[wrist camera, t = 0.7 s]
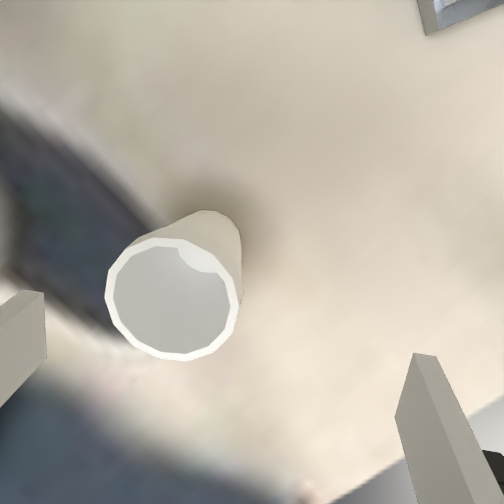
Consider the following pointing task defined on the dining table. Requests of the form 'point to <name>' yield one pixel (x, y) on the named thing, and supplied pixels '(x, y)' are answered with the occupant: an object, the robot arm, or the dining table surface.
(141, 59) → the dining table surface
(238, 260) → the foam cup
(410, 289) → the dining table surface
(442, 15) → the base
